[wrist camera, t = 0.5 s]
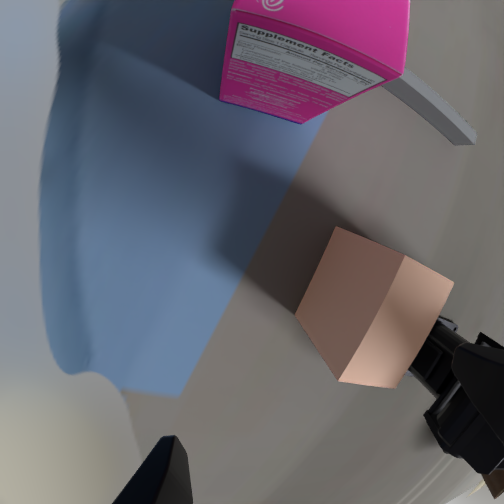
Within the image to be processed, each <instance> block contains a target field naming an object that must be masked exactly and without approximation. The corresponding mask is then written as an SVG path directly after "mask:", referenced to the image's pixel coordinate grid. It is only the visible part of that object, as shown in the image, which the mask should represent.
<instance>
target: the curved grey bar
mask: <svg viewBox="0 0 504 504" xmlns="http://www.w3.org/2000/svg"><path fill="white" fill-rule="evenodd" d="M381 86H382V87H384V88H385V89H387V90H388V91H390V92H391V93H392V94H394V95H395V96H396V97H398V98H399V99H401V100H402V101H403V102H404V103H406V104H407V105H408V106H410V107H411V108H412V109H414V110H415V111H416V112H417V113H419V114H420V115H421V116H422V117H423V118H425V119H426V120H427V121H428V122H429V123H431V124H432V125H433V126H434V127H435V128H436V129H437V130H439V131H440V132H441V133H442V134H443V135H444V136H445V137H446V138H447V139H449V140H450V141H451V142H452V143H453V144H454V145H475V141H476V137H477V132H476V131H475V130H474V129H473V128H472V127H471V126H470V125H469V124H468V123H467V122H466V121H465V120H464V119H463V118H462V117H461V116H460V115H459V114H458V113H457V112H456V111H455V110H454V109H453V108H452V107H451V106H450V105H449V104H448V103H447V102H446V101H445V100H444V99H443V98H442V97H441V96H439V95H438V94H437V93H436V92H435V91H434V90H433V89H432V88H430V87H429V86H428V85H427V84H426V83H425V82H423V81H422V80H421V79H420V78H419V77H417V76H416V75H415V74H414V73H412V72H411V71H410V70H408V69H407V68H406V67H404V73H403V76H401V77H399V78H397V79H394V80H392V81H390V82H387V83H385V84H383V85H381Z"/></svg>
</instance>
